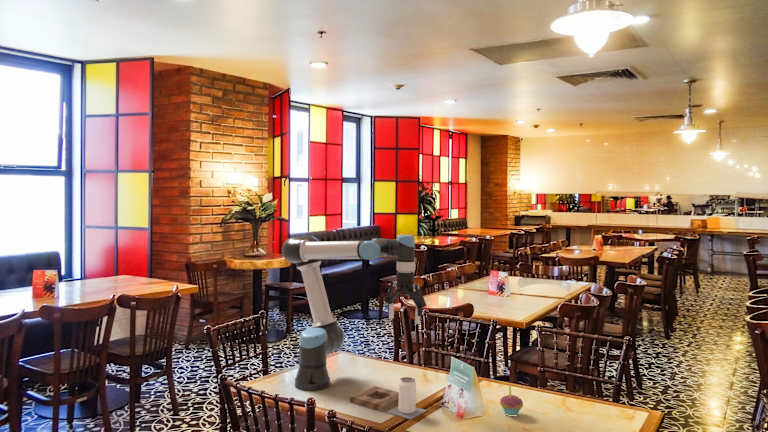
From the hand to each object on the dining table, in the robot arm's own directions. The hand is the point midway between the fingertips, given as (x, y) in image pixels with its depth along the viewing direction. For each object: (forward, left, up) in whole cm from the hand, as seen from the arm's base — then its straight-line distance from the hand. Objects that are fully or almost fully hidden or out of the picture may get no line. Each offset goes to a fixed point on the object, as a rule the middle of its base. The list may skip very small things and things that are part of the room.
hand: (404, 321), depth 244 cm
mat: (+17, -22, -29) cm, 40 cm away
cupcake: (+49, +1, -29) cm, 57 cm away
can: (+17, -22, -28) cm, 40 cm away
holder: (+2, -20, -29) cm, 35 cm away
